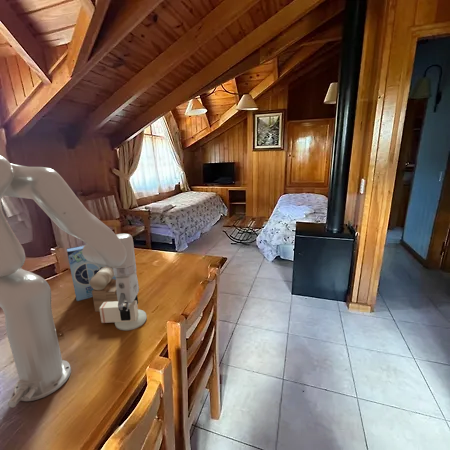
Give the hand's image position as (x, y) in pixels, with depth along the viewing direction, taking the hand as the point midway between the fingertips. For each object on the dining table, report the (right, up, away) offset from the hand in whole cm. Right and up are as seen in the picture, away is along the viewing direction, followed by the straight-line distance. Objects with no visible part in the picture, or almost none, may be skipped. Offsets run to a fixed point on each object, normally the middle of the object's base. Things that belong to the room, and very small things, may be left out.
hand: (130, 311), depth 93 cm
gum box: (-21, +1, +21) cm, 30 cm away
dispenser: (-12, -1, +12) cm, 17 cm away
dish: (0, -4, +1) cm, 4 cm away
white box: (-4, -3, 0) cm, 5 cm away
